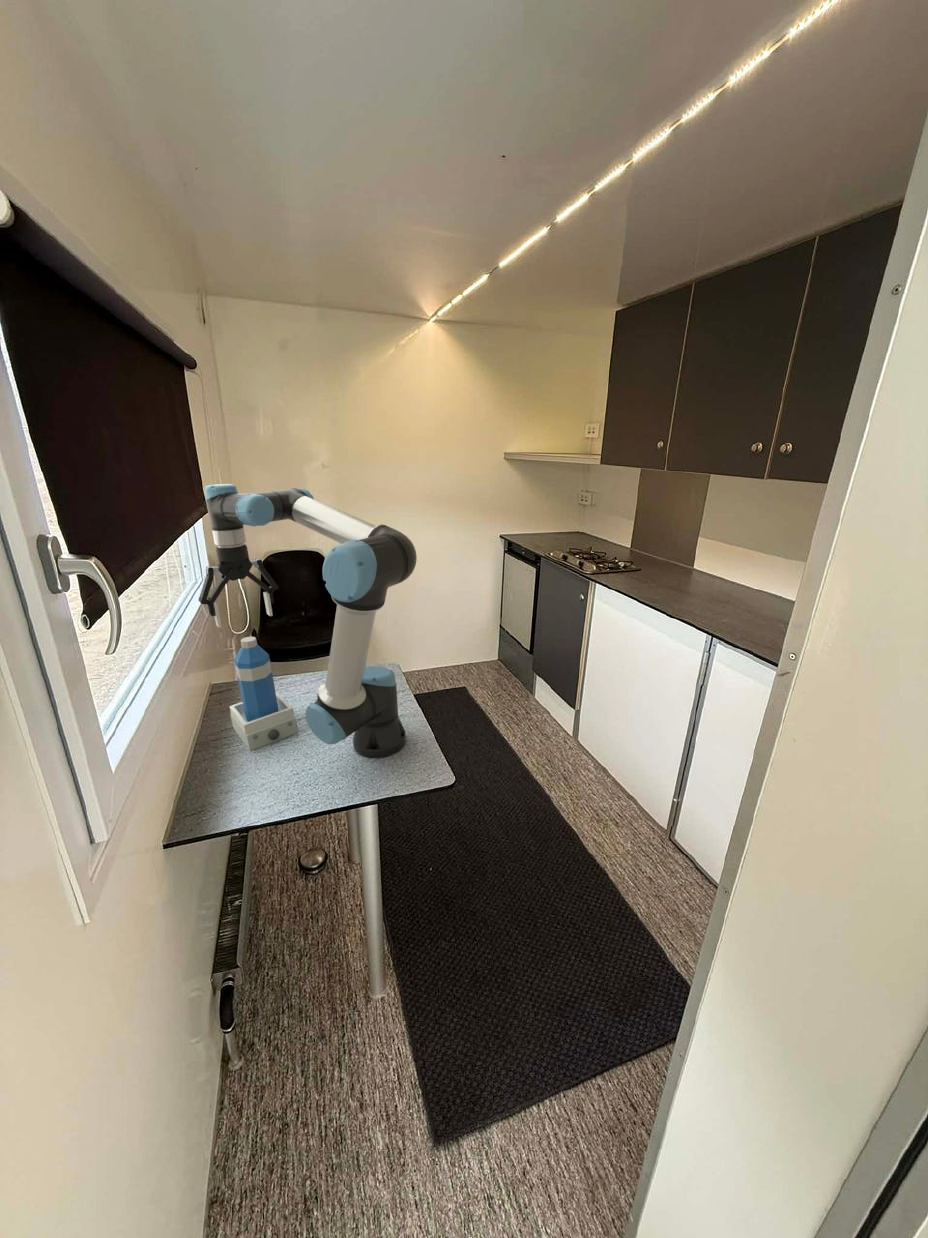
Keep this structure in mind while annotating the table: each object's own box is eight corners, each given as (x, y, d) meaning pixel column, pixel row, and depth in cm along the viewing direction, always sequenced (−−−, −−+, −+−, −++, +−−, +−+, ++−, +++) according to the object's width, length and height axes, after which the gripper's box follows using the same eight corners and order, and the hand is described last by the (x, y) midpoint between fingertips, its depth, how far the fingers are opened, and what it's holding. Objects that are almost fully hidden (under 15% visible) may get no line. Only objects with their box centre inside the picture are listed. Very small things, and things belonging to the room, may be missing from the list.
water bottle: (244, 726, 138) (227, 647, 129) (247, 710, 146) (232, 635, 138) (278, 721, 140) (264, 643, 132) (279, 705, 149) (267, 631, 140)
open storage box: (298, 733, 143) (295, 710, 140) (250, 752, 135) (245, 728, 132) (278, 711, 155) (274, 690, 152) (233, 727, 147) (228, 705, 144)
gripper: (273, 536, 136) (284, 607, 143) (174, 549, 121) (192, 627, 128) (283, 540, 130) (294, 613, 138) (181, 554, 115) (199, 635, 123)
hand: (245, 620), depth 133 cm, fingers open, 13 cm apart
